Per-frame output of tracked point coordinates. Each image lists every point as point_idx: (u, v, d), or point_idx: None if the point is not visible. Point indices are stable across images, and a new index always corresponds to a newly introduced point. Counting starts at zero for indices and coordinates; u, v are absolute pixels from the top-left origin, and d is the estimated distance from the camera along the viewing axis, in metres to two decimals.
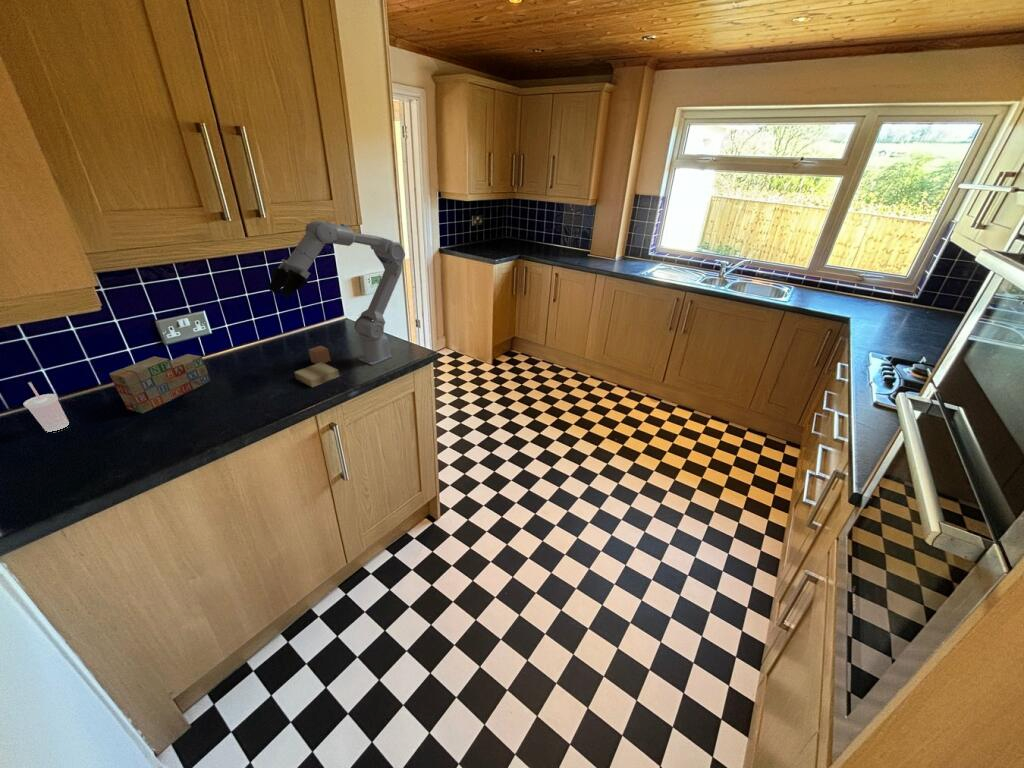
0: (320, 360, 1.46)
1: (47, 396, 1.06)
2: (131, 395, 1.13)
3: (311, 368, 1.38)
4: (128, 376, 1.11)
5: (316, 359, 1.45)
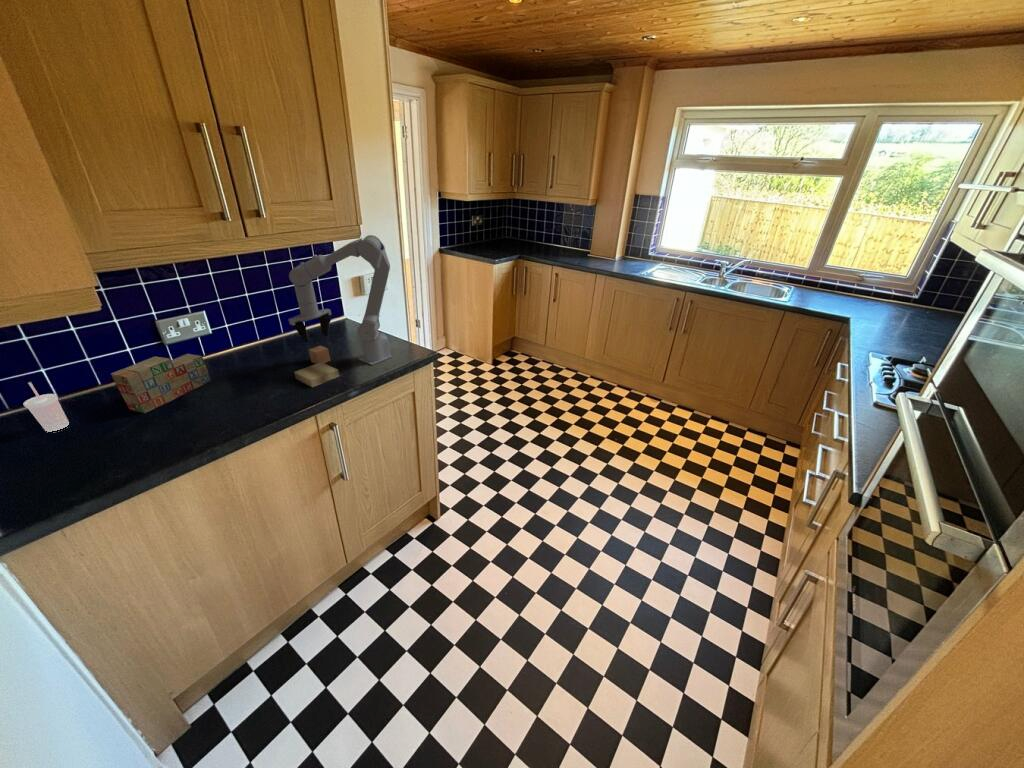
0: (320, 360, 1.46)
1: (47, 396, 1.06)
2: (133, 395, 1.13)
3: (311, 368, 1.38)
4: (131, 376, 1.11)
5: (316, 359, 1.45)
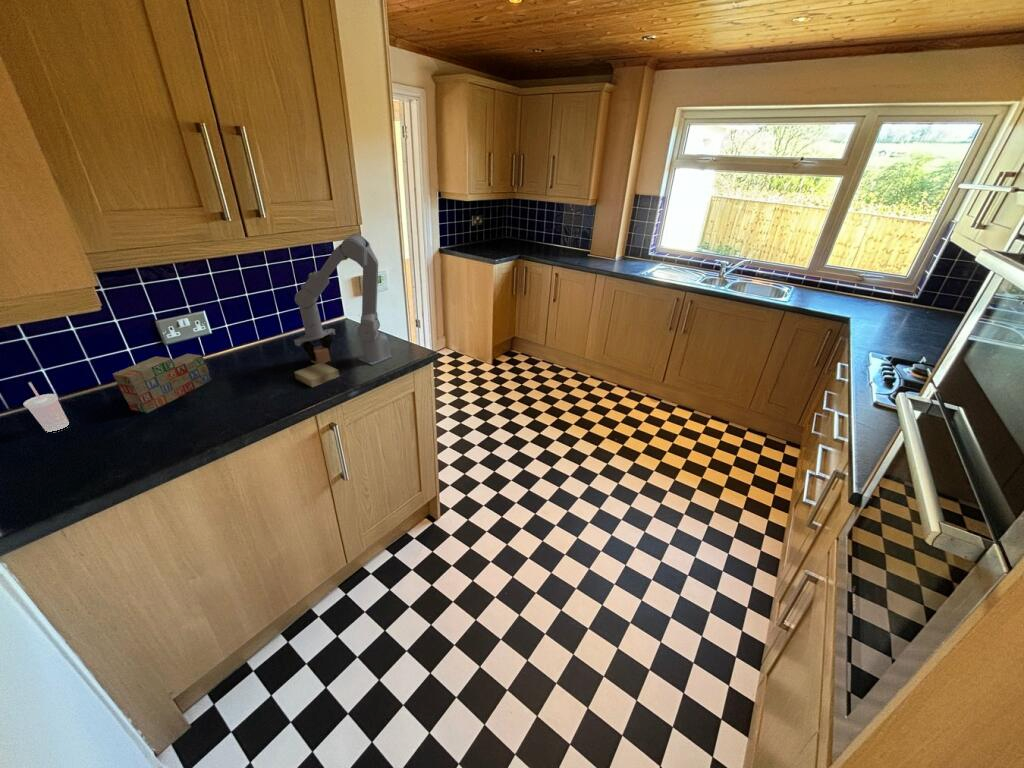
0: (320, 360, 1.46)
1: (47, 396, 1.06)
2: (136, 395, 1.13)
3: (311, 368, 1.38)
4: (133, 376, 1.11)
5: (316, 359, 1.45)
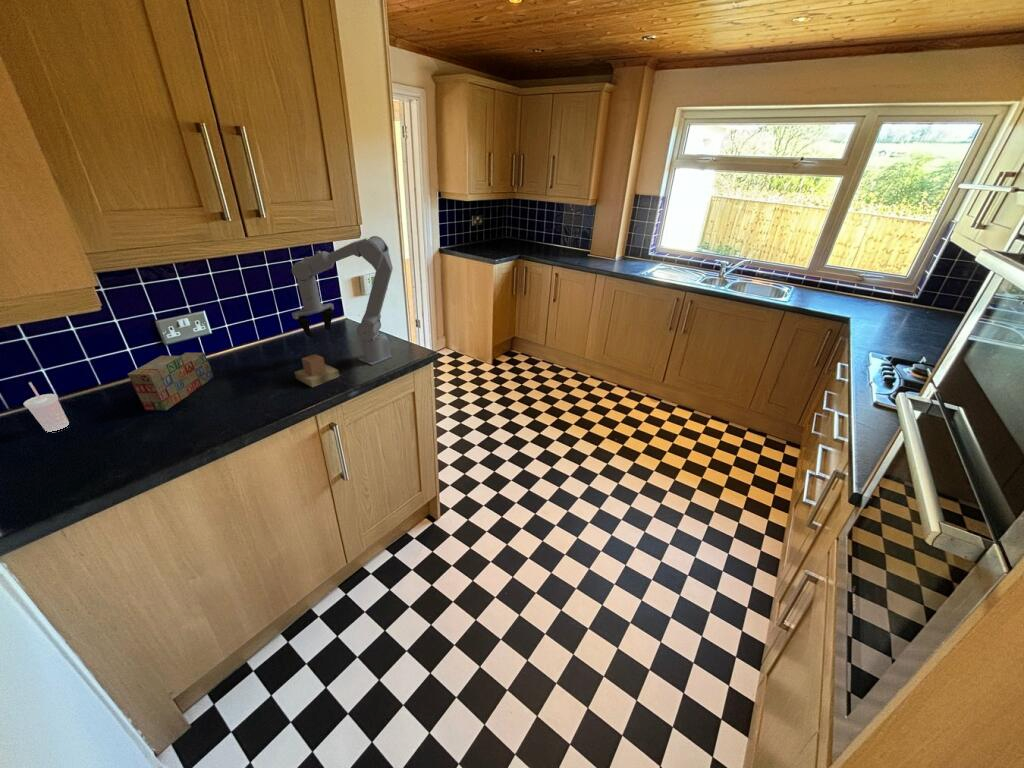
0: (314, 370, 1.33)
1: (47, 396, 1.06)
2: (155, 393, 1.15)
3: None
4: (152, 373, 1.13)
5: (310, 370, 1.32)
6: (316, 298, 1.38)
